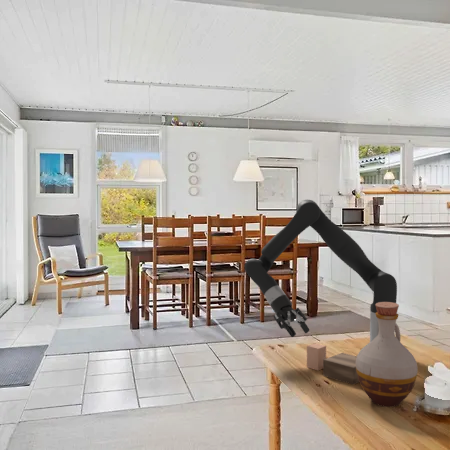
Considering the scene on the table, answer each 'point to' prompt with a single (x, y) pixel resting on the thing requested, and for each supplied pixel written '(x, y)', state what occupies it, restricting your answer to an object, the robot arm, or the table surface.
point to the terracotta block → (316, 356)
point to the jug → (386, 361)
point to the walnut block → (341, 368)
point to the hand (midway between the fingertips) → (301, 333)
